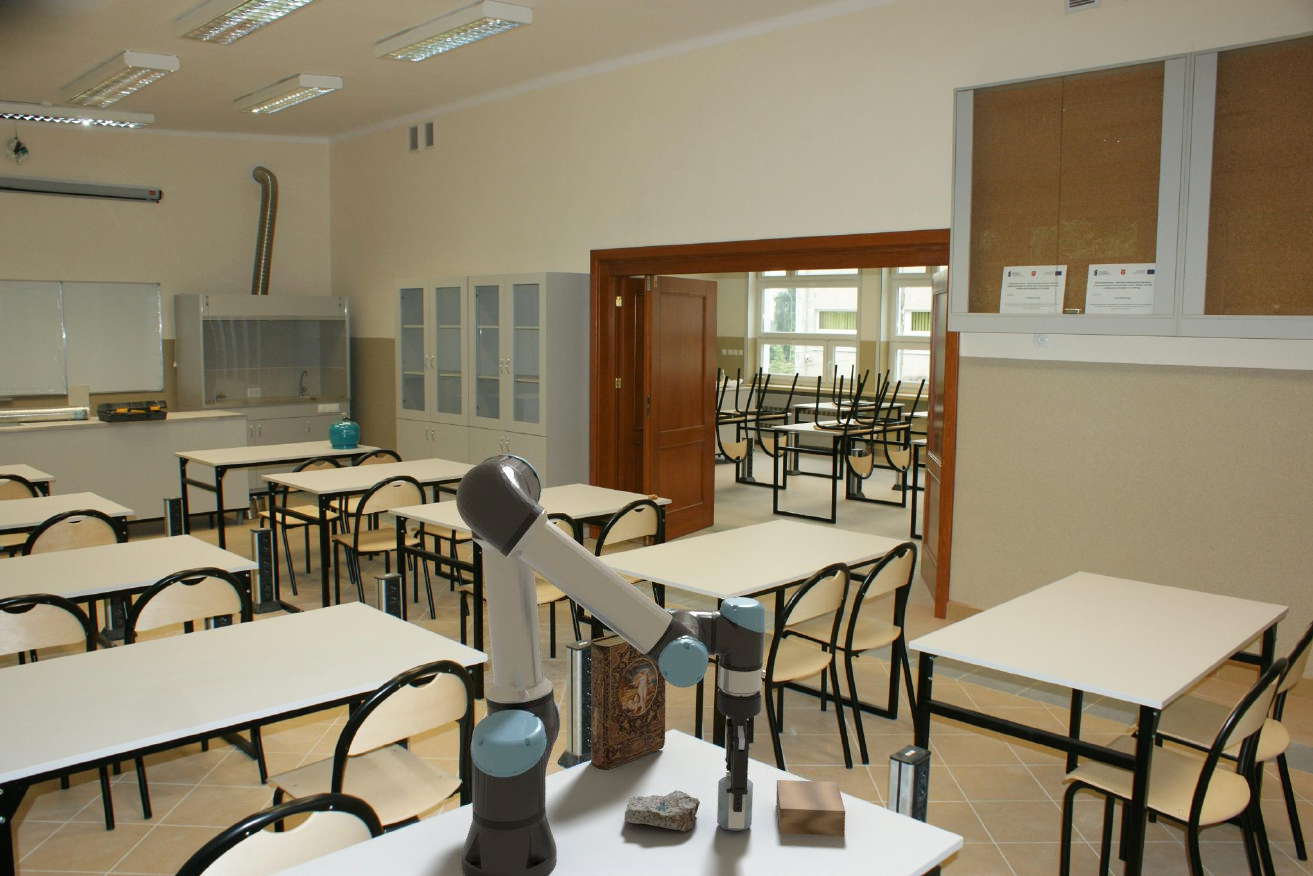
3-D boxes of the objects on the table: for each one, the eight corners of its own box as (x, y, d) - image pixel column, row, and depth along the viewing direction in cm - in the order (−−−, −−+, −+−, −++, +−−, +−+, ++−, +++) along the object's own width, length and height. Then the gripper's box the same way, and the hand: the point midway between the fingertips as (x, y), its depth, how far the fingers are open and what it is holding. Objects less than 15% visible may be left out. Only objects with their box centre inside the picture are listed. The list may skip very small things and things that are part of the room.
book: (604, 771, 191) (604, 647, 188) (586, 762, 195) (586, 641, 192) (665, 748, 202) (666, 631, 199) (647, 740, 206) (648, 625, 204)
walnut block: (779, 836, 167) (780, 808, 166) (776, 806, 178) (776, 779, 177) (844, 838, 166) (845, 810, 166) (836, 808, 177) (837, 782, 177)
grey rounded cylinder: (718, 830, 166) (719, 791, 165) (715, 813, 172) (717, 775, 171) (753, 831, 166) (754, 791, 165) (749, 814, 172) (751, 776, 171)
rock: (620, 832, 166) (620, 804, 166) (631, 808, 176) (630, 781, 175) (695, 837, 164) (694, 808, 164) (701, 812, 174) (701, 785, 173)
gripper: (768, 710, 157) (762, 846, 159) (755, 670, 176) (749, 793, 178) (722, 709, 157) (716, 845, 159) (714, 669, 176) (709, 791, 178)
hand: (734, 817), depth 169 cm, fingers closed on grey rounded cylinder, 6 cm apart
